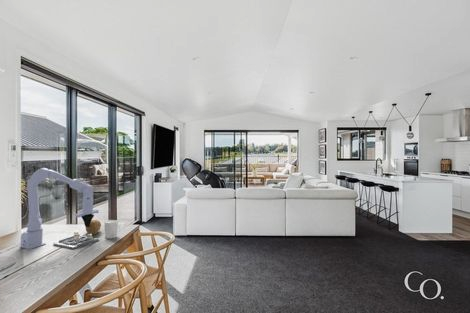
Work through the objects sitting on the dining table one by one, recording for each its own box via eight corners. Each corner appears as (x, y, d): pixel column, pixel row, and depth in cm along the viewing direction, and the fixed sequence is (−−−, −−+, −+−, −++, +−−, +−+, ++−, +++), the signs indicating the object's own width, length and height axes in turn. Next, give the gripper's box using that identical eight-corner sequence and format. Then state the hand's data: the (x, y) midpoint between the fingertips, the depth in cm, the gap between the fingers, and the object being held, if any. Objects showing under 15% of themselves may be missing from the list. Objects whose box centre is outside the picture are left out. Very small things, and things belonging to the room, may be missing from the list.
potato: (102, 229, 190) (102, 216, 190) (98, 236, 175) (98, 222, 175) (88, 230, 187) (88, 216, 187) (83, 237, 172) (83, 222, 172)
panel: (73, 249, 151) (74, 240, 151) (53, 245, 156) (53, 236, 156) (98, 240, 167) (99, 232, 167) (79, 237, 172) (79, 229, 172)
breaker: (76, 241, 160) (76, 235, 160) (73, 241, 161) (73, 234, 161) (80, 240, 163) (80, 234, 163) (77, 239, 163) (77, 233, 163)
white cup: (114, 234, 180) (115, 219, 180) (119, 237, 174) (120, 221, 174) (102, 236, 175) (102, 221, 174) (106, 239, 169) (107, 223, 169)
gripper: (82, 207, 160) (81, 230, 160) (102, 203, 173) (101, 224, 174) (73, 206, 162) (73, 229, 162) (93, 202, 176) (93, 223, 176)
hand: (87, 226), depth 168 cm, fingers closed
